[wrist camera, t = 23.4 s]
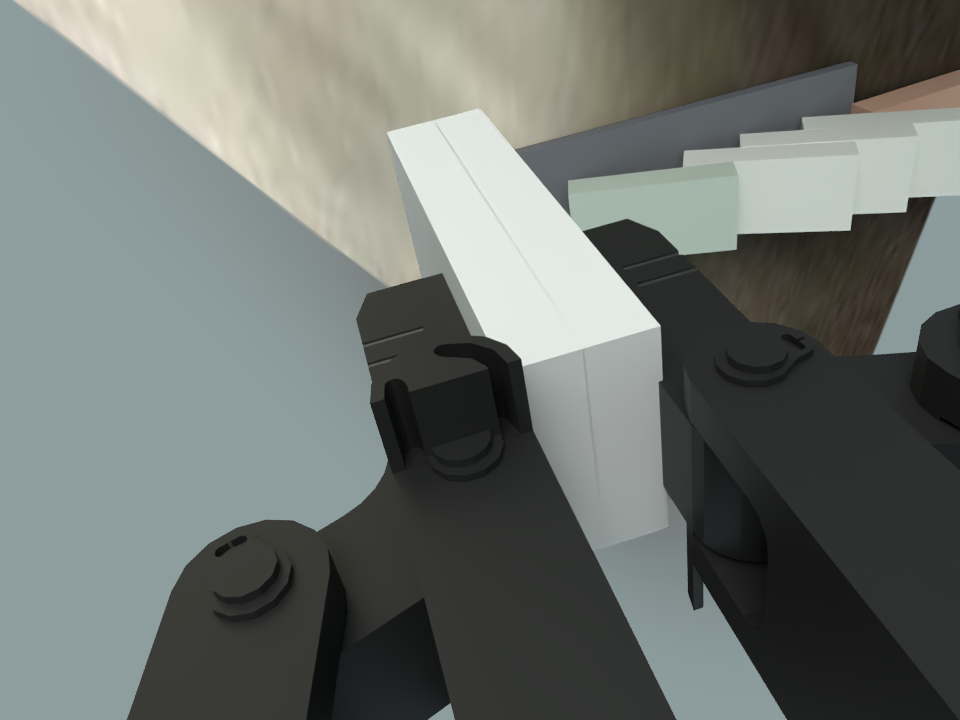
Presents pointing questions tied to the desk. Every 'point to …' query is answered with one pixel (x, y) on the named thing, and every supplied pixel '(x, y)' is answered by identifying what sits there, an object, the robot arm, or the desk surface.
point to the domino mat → (690, 129)
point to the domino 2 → (790, 185)
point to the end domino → (916, 96)
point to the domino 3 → (863, 160)
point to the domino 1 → (665, 204)
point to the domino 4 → (940, 147)
